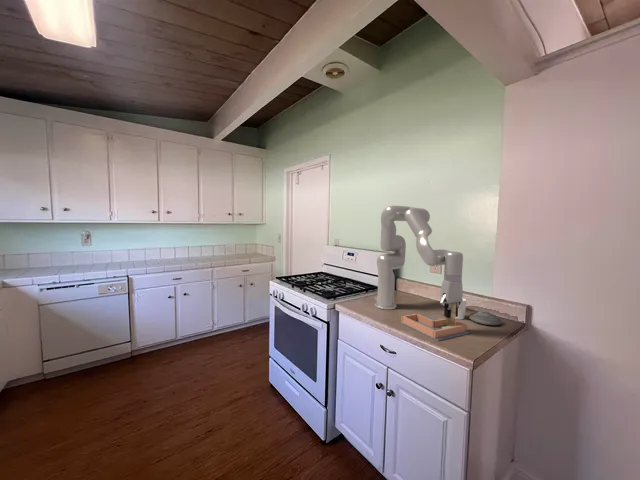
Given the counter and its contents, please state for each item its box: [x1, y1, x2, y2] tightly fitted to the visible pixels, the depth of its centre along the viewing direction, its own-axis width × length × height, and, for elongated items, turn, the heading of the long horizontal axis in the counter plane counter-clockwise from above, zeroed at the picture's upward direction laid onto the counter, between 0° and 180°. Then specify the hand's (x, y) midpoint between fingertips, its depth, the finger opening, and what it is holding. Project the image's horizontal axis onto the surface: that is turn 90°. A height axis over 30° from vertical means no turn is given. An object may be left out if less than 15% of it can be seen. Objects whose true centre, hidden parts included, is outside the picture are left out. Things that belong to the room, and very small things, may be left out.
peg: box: [445, 302, 456, 326], centre depth 131 cm, size 4×4×12 cm
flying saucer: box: [468, 310, 503, 326], centre depth 144 cm, size 15×15×6 cm
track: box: [400, 313, 470, 342], centre depth 134 cm, size 23×20×4 cm
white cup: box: [455, 297, 467, 320], centre depth 149 cm, size 8×8×10 cm
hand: (450, 316), depth 132 cm, fingers closed on peg, 4 cm apart
